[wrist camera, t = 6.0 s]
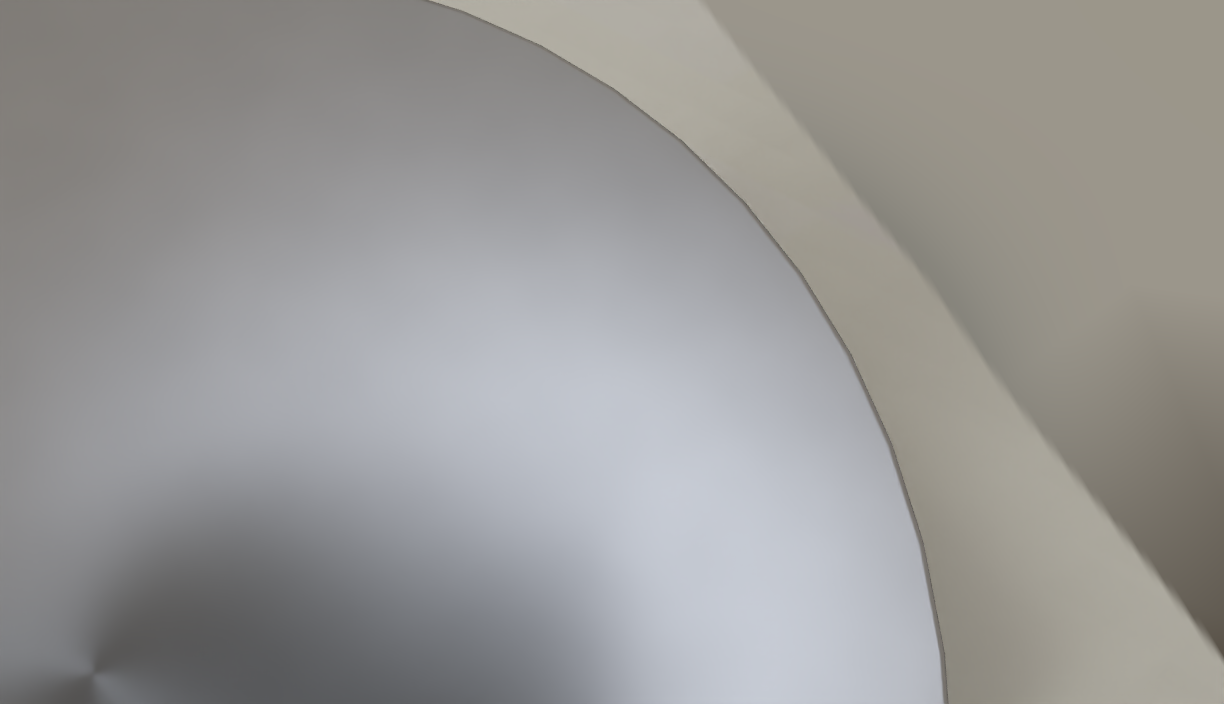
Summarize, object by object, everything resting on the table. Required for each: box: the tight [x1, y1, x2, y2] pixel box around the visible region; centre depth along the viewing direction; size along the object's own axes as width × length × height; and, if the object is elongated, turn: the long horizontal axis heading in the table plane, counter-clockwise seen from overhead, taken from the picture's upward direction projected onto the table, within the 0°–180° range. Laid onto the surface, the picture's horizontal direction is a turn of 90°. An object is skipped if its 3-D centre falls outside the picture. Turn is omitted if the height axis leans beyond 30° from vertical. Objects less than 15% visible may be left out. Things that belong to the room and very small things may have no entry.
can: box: [0, 0, 948, 704], centre depth 9 cm, size 7×7×12 cm
